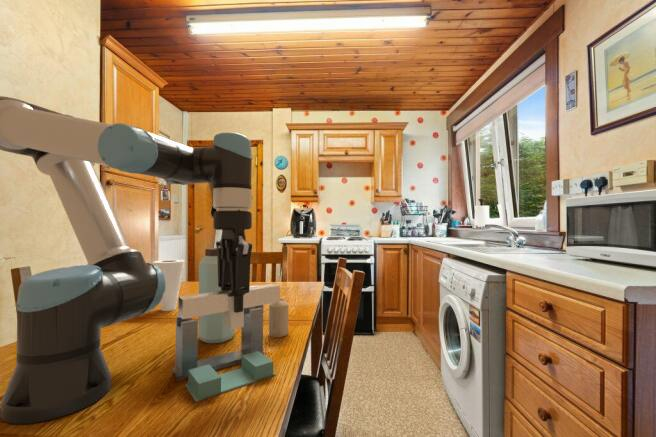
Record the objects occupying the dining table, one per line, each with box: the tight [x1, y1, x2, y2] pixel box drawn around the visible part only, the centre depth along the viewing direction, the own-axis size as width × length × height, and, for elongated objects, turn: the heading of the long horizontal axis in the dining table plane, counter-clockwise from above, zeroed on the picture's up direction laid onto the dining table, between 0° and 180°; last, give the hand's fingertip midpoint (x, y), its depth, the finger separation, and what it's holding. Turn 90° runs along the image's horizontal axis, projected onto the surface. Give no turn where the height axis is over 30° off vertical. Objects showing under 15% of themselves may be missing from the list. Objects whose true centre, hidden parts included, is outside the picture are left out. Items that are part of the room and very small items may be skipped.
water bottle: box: [198, 247, 236, 344], centre depth 88 cm, size 10×10×25 cm
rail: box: [178, 283, 281, 319], centre depth 64 cm, size 20×3×4 cm, turn 128°
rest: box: [185, 351, 276, 403], centre depth 64 cm, size 16×7×3 cm, turn 128°
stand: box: [172, 306, 265, 382], centre depth 71 cm, size 19×6×12 cm, turn 128°
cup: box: [152, 259, 186, 312], centre depth 118 cm, size 11×11×18 cm
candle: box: [268, 298, 289, 338], centre depth 91 cm, size 6×6×10 cm
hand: (233, 325), depth 64 cm, fingers closed on rail, 3 cm apart
